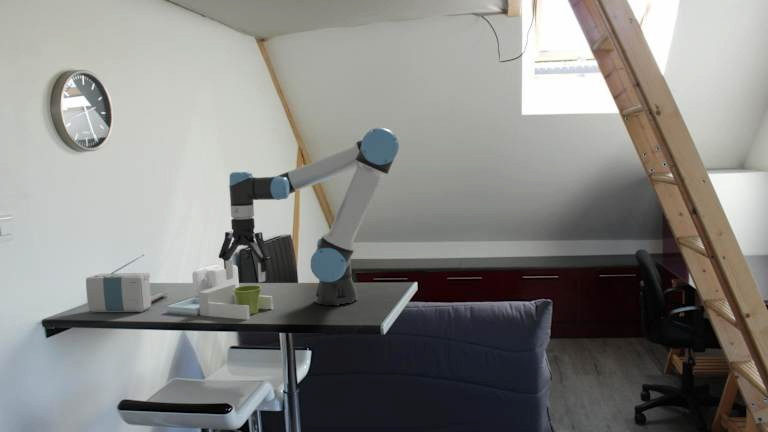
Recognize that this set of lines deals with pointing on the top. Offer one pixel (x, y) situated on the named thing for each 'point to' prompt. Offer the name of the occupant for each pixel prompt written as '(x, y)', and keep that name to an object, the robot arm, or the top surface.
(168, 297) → the top surface
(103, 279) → the stereo radio cassette player
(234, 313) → the bay
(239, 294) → the plant pot
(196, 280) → the cable organizer
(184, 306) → the tray
